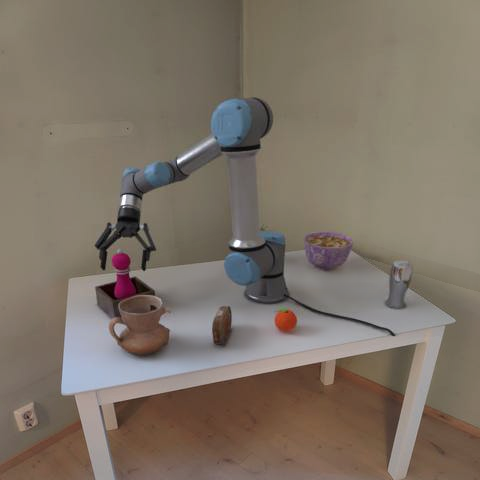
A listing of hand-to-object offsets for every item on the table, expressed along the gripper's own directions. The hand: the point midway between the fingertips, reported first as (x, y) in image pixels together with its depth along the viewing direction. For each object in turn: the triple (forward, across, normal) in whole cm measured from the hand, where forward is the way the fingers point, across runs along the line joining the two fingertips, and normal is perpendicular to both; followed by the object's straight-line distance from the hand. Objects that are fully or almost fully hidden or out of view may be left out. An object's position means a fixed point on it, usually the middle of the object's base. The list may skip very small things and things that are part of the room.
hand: (122, 269), depth 150 cm
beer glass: (+5, -93, -15) cm, 94 cm away
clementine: (+19, -53, -1) cm, 57 cm away
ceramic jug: (+28, -12, +8) cm, 31 cm away
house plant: (-20, -44, -40) cm, 62 cm away
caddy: (+10, 0, -9) cm, 14 cm away
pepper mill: (+10, 0, -9) cm, 13 cm away
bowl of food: (-19, -72, -38) cm, 84 cm away
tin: (+23, -34, +3) cm, 42 cm away
